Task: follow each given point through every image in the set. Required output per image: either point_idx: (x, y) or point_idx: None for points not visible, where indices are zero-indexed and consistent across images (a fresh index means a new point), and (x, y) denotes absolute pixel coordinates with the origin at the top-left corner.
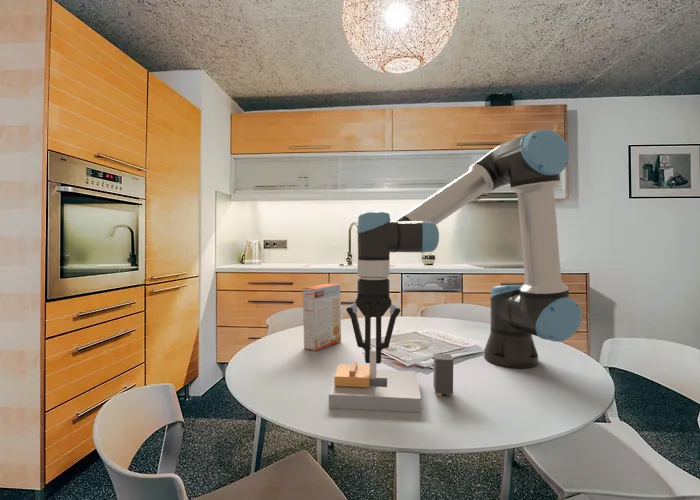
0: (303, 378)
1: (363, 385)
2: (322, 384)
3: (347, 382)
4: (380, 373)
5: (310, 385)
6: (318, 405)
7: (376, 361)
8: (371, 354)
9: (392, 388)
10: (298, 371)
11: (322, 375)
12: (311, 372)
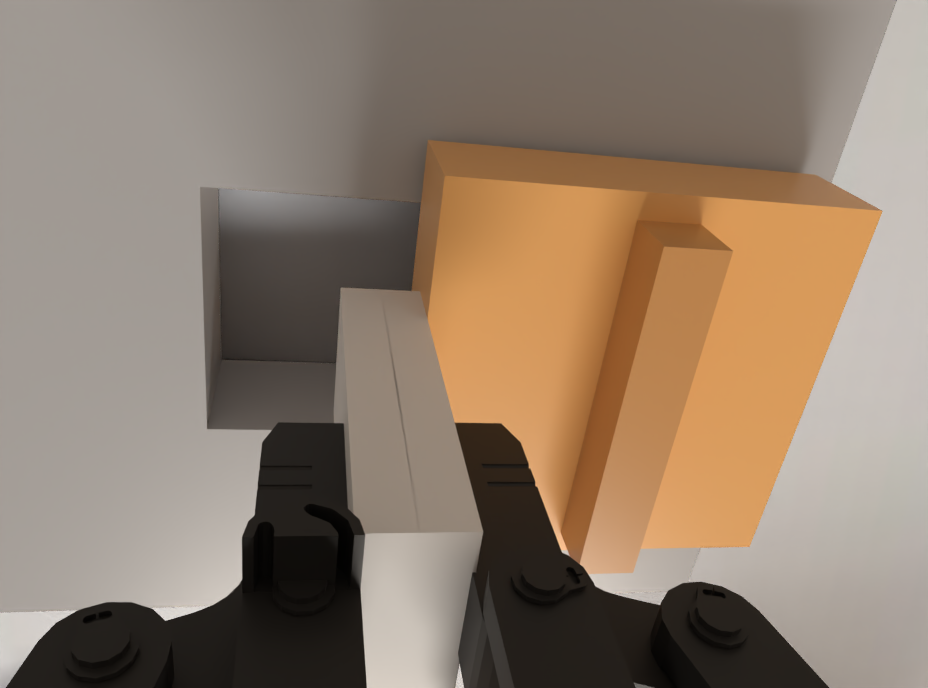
0: (909, 512)
1: (499, 153)
2: None
3: (698, 174)
4: None
5: (883, 403)
6: (900, 13)
7: (339, 442)
8: (440, 487)
9: (124, 145)
10: (918, 611)
11: (761, 572)
12: (831, 608)
